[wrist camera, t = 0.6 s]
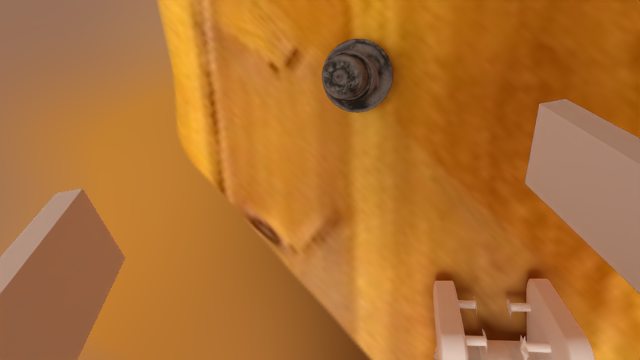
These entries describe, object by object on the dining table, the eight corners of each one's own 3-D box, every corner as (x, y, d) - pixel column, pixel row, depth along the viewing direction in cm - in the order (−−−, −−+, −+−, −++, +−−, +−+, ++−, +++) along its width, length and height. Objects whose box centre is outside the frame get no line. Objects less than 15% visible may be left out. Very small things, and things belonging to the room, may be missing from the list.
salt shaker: (373, 28, 33) (352, 4, 22) (407, 86, 33) (403, 92, 22) (319, 66, 35) (274, 63, 24) (352, 120, 35) (323, 142, 24)
